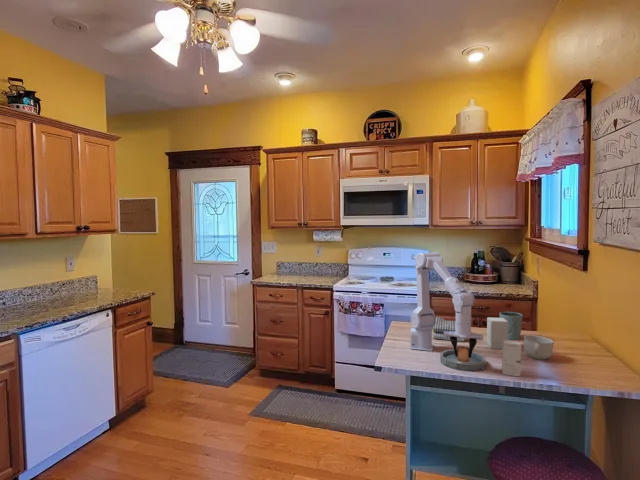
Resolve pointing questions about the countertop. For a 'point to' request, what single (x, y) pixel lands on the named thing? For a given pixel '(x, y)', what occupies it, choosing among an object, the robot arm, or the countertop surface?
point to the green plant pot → (513, 324)
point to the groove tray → (451, 361)
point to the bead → (463, 353)
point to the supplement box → (496, 332)
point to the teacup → (538, 346)
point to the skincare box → (511, 357)
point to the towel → (444, 328)
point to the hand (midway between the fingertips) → (462, 356)
